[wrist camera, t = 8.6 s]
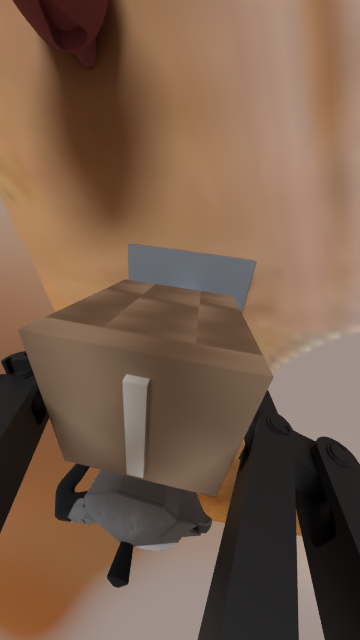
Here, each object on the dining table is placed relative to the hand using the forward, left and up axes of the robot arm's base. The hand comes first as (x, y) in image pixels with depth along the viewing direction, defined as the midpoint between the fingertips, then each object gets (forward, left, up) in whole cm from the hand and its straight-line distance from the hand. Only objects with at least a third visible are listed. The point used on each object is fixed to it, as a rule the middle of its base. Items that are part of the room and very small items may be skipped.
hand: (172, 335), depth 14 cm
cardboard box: (0, 0, 0) cm, 0 cm away
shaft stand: (0, 0, -8) cm, 8 cm away
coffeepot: (+2, +15, -8) cm, 17 cm away
